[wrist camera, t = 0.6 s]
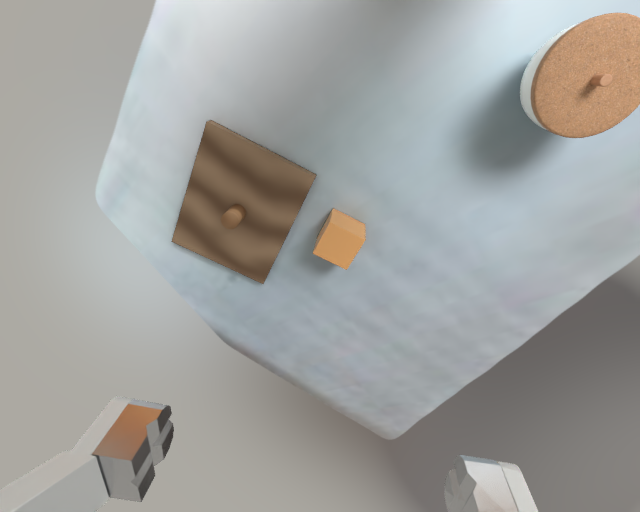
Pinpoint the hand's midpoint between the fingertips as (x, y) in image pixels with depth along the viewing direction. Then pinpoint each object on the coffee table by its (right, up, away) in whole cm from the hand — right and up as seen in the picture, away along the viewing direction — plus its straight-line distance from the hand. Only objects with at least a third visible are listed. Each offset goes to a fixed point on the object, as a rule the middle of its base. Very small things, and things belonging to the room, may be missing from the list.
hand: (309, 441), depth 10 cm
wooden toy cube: (+3, +9, +42) cm, 43 cm away
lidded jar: (+28, +26, +30) cm, 48 cm away
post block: (-12, +12, +42) cm, 45 cm away
